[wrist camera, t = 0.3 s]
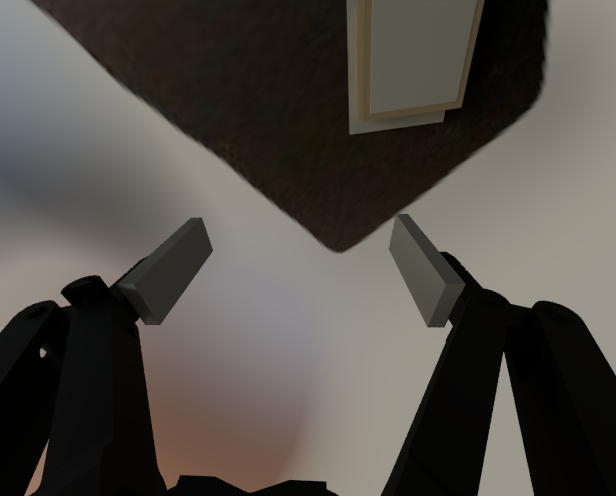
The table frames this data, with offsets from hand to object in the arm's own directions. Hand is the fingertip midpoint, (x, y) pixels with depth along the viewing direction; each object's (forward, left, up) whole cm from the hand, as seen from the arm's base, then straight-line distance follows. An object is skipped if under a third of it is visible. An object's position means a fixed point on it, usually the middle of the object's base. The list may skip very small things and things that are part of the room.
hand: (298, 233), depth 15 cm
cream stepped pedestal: (-11, +14, -27) cm, 32 cm away
